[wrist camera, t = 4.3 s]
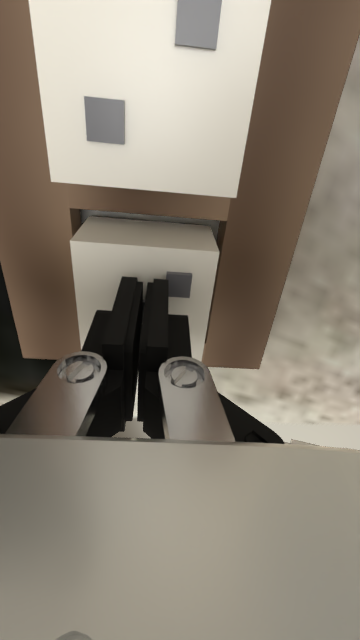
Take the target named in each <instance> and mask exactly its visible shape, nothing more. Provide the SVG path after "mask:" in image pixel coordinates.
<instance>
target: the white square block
mask: <svg viewBox="0 0 360 640" xmlns="http://www.w3.org/2000/svg"><path fill="white" fill-rule="evenodd" d="M70 247H71V257H72V267H73V276H74V286H75V295H76V305H77V314H78V324H79V334H80V343H81V350H82V347H83V345H84V342H85V339H86V337H87V334H88V331H89V329H90V326H91V323H92V321H93V318H94V315H95V313H96V311H97V310H108V311H112V308H113V305H114V301H115V298H116V295H117V291H118V288H119V284H120V281H121V278H122V276H123V277H137V280H138V282H143V305H142V321H143V313H144V306H145V298H146V291H147V283H148V282H154V279H167V280H169V297H168V314H174V315H188V319H189V331H190V342H191V353H192V358H194V359H197V360H199V361H200V362H201V361H202V355H203V349H204V343H205V337H206V331H207V325H208V319H209V312H210V306H211V300H212V294H213V288H214V282H215V276H216V270H217V264H218V258H219V249H218V247H217V244H216V241H215V238H214V236H213V233H212V230H211V227H210V226H206V225H194V224H181V223H169V222H156V221H144V220H132V219H119V218H107V217H95V216H89V217H88V218H87V219H86V221H85V222H84V223H83V224H82V226H81V227H80V228H79V230H78V231H77V232H76V233H75V235H74V236H73V237H72V239H71V240H70Z"/></svg>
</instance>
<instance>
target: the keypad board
mask: <svg viewBox="0 0 360 640" xmlns="http://www.w3.org/2000/svg"><path fill="white" fill-rule="evenodd" d="M359 34H360V0H271V5H270V11H269V16H268V22H267V28H266V33H265V39H264V45H263V50H262V56H261V61H260V67H259V73H258V78H257V84H256V90H255V95H254V101H253V106H252V112H251V118H250V123H249V129H248V135H247V140H246V146H245V151H244V157H243V163H242V168H241V174H240V179H239V185H238V191H237V196H236V198H230V197H218V196H207V195H196V194H184V193H173V192H162V191H150V190H139V189H128V188H116V187H105V186H94V185H82V184H71V183H59V182H51V177H50V169H49V161H48V153H47V145H46V137H45V129H44V121H43V113H42V105H41V97H40V89H39V81H38V73H37V65H36V57H35V49H34V41H33V32H32V24H31V16H30V8H29V0H0V261H1V266H2V270H3V274H4V278H5V283H6V287H7V291H8V295H9V300H10V304H11V308H12V312H13V316H14V321H15V325H16V329H17V333H18V338H19V342H20V346H21V350H22V355H23V358H37V359H57V360H58V359H60V358H61V357H63V356H65V355H67V354H70V353H73V352H80V351H81V343H80V334H79V324H78V314H77V305H76V295H75V286H74V276H73V267H72V257H71V247H70V240H71V239H72V237H73V236H74V235H75V233H76V232H77V231H78V230H79V228H80V227H81V217H80V209H87V210H99V211H111V212H123V213H136V214H148V215H160V216H172V217H184V218H196V219H208V220H220V224H219V231H218V237H217V243H216V244H217V247H218V249H219V258H218V264H217V270H216V276H215V282H214V288H213V294H212V300H211V306H210V312H209V319H208V325H207V331H206V337H205V343H204V349H203V355H202V361H201V362H202V363H203V364H204V365H206V366H207V367H224V368H245V369H259V367H260V364H261V361H262V357H263V354H264V351H265V347H266V344H267V341H268V337H269V334H270V331H271V327H272V324H273V321H274V317H275V314H276V311H277V307H278V304H279V301H280V297H281V294H282V291H283V287H284V284H285V281H286V277H287V274H288V271H289V267H290V264H291V261H292V257H293V254H294V251H295V247H296V244H297V241H298V237H299V234H300V231H301V227H302V224H303V221H304V217H305V214H306V211H307V207H308V204H309V201H310V197H311V194H312V191H313V187H314V184H315V181H316V177H317V174H318V171H319V167H320V164H321V161H322V157H323V154H324V151H325V147H326V144H327V141H328V137H329V134H330V131H331V127H332V124H333V121H334V117H335V114H336V111H337V107H338V104H339V101H340V97H341V94H342V91H343V88H344V84H345V81H346V78H347V74H348V71H349V68H350V64H351V61H352V58H353V54H354V51H355V48H356V44H357V41H358V38H359Z"/></svg>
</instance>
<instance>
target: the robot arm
mask: <svg viewBox="0 0 360 640" xmlns="http://www.w3.org/2000/svg"><path fill="white" fill-rule="evenodd" d="M168 297H169V280H167V279H154V282H148V283H147V291H146V298H145V306H144V313H143V321H142V305H143V282H138V280H137V277H123V276H122V278H121V281H120V284H119V288H118V291H117V295H116V298H115V301H114V305H113V308H112V311H108V310H97V311H96V313H95V315H94V318H93V321H92V323H91V326H90V329H89V331H88V334H87V337H86V339H85V342H84V345H83V347H82V350H81V351H80V352H73V353H70V354H67V355H65V356H63V357H61V358H60V359H58V360H57V361H56V362H55V363H54V364H53V366H52V367H51V369H50V370H49V371H48V373H47V374H46V376H45V377H44V379H43V380H42V381H41V383H40V384H39V386H38V387H37V388H36V389H34V390H32V391H30V392H28V393H26V394H24V395H22V396H20V397H18V398H16V399H14V400H12V401H9V402H7V403H5V404H3V405H1V406H0V640H360V450H355V449H348V448H336V447H324V446H319V445H314V444H310V443H306V442H302V441H297V440H293V439H291V442H290V443H287V442H283V440H282V439H281V438H280V437H279V436H278V435H277V434H276V433H275V432H274V431H272V430H271V429H270V428H268V427H267V426H265V425H264V424H262V423H261V422H260V421H258V420H257V419H255V418H254V417H253V416H251V415H250V414H248V413H247V412H245V411H244V410H243V409H241V408H240V407H238V406H237V405H235V404H234V403H233V402H231V401H230V400H228V399H227V398H225V397H224V396H223V395H221V394H220V393H218V392H217V390H216V387H215V384H214V382H213V379H212V376H211V373H210V371H209V369H208V368H207V366H206V365H204V364H203V363H202V362H200V361H199V360H197V359H194V358H192V353H191V342H190V331H189V319H188V315H174V314H168ZM138 370H139V372H138ZM137 378H138V416H137V421H142V422H143V431H144V432H145V433H146V434H147V435H148V436H150V437H151V438H152V439H143V438H116V437H114V438H113V437H112V436H113V435H115V434H116V433H118V432H119V431H123V432H124V430H125V423H126V421H132V418H133V410H134V402H135V394H136V386H137Z"/></svg>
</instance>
